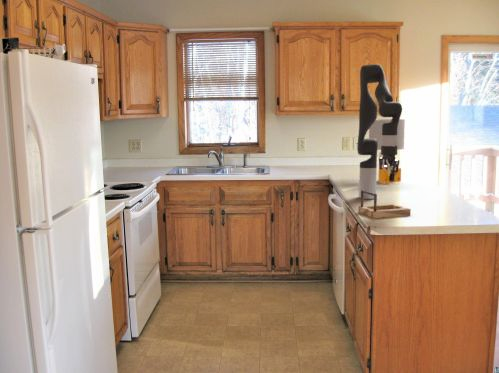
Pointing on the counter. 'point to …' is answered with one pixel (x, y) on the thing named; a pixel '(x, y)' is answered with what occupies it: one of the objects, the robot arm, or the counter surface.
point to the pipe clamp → (385, 177)
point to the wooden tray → (382, 208)
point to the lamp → (376, 133)
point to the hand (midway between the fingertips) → (388, 180)
